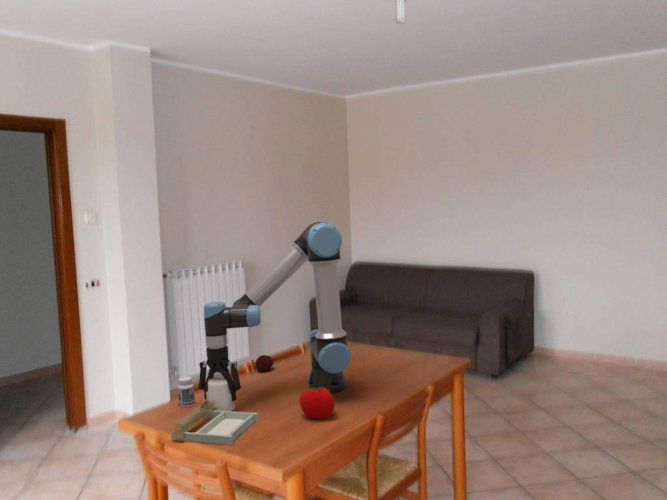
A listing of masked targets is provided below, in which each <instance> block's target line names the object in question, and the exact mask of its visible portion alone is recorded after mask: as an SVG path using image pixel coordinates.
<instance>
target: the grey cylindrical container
mask: <svg viewBox="0 0 667 500" xmlns="http://www.w3.org/2000/svg"><path fill="white" fill-rule="evenodd" d="M229 392H230V390H229V387H228V383H227V381H226V380H225V379H224V377H223V376H222V374H220V375H218V374H217V375H214V377H213V378H212V379H209V381H208V395H209V401H214V407H217V411H230V409H229V394H228V393H229Z"/></svg>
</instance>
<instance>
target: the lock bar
mask: <svg viewBox="0 0 667 500" xmlns="http://www.w3.org/2000/svg"><path fill="white" fill-rule="evenodd" d="M213 410H216V411H217V407H214V401H208V400H205V401H204V402H202V403H201V404H200V405H199V406H197V407H195V408H194V409H193V410H191V411H190V412H189V413H187V414H186V415H185V416H183V417H181V418H180V419H179V420H177V421H175V422H174V430H173V432H172V431H171V432H172V438H179V439H184V438H185V435H184V432H187V431H188V430H189V429H190V428H192V426H194V425H196V423H198V422H199V421H201V420H202V419H204V418H203V417H205V416H206V415H207V414H209V413H210V412H211V411H213Z"/></svg>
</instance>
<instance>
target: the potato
mask: <svg viewBox="0 0 667 500" xmlns="http://www.w3.org/2000/svg"><path fill="white" fill-rule="evenodd" d="M273 365H274V359H273V358H272V357H271V356H270V355H266V354H265V355H264V354H263V355H260V356H258V357H257V359H256V360H255V368H256V369H257V371H259V372H266V371H268V370H270V369H271V368H272V367H273Z"/></svg>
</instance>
